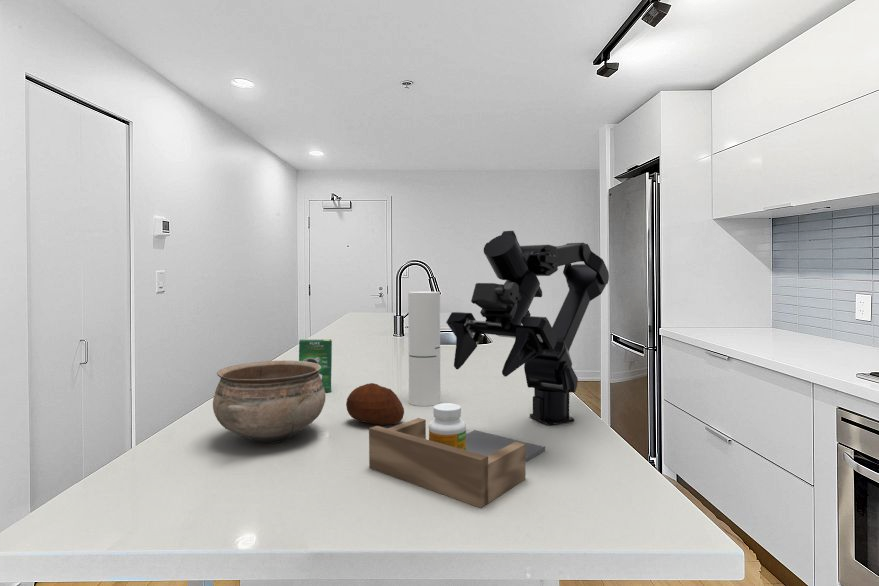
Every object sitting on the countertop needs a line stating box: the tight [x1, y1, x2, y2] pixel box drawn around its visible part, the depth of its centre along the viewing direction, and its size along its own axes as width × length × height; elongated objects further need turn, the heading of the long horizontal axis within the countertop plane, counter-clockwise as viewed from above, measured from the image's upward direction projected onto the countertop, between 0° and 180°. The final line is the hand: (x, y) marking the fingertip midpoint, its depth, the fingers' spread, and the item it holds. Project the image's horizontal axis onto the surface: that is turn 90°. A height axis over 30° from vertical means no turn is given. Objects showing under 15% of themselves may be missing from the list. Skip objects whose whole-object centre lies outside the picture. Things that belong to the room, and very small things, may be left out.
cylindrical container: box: [407, 291, 441, 407], centre depth 111 cm, size 7×7×25 cm
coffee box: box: [298, 339, 333, 393], centre depth 121 cm, size 8×3×13 cm, turn 103°
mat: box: [466, 429, 546, 463], centre depth 81 cm, size 12×14×1 cm
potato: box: [345, 382, 405, 426], centre depth 95 cm, size 8×12×8 cm, turn 85°
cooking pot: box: [212, 360, 327, 444], centre depth 88 cm, size 25×19×12 cm
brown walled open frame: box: [368, 417, 527, 509], centre depth 71 cm, size 11×20×6 cm, turn 51°
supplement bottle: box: [428, 402, 467, 450], centre depth 72 cm, size 5×5×10 cm
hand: (478, 371), depth 78 cm, fingers open, 9 cm apart
